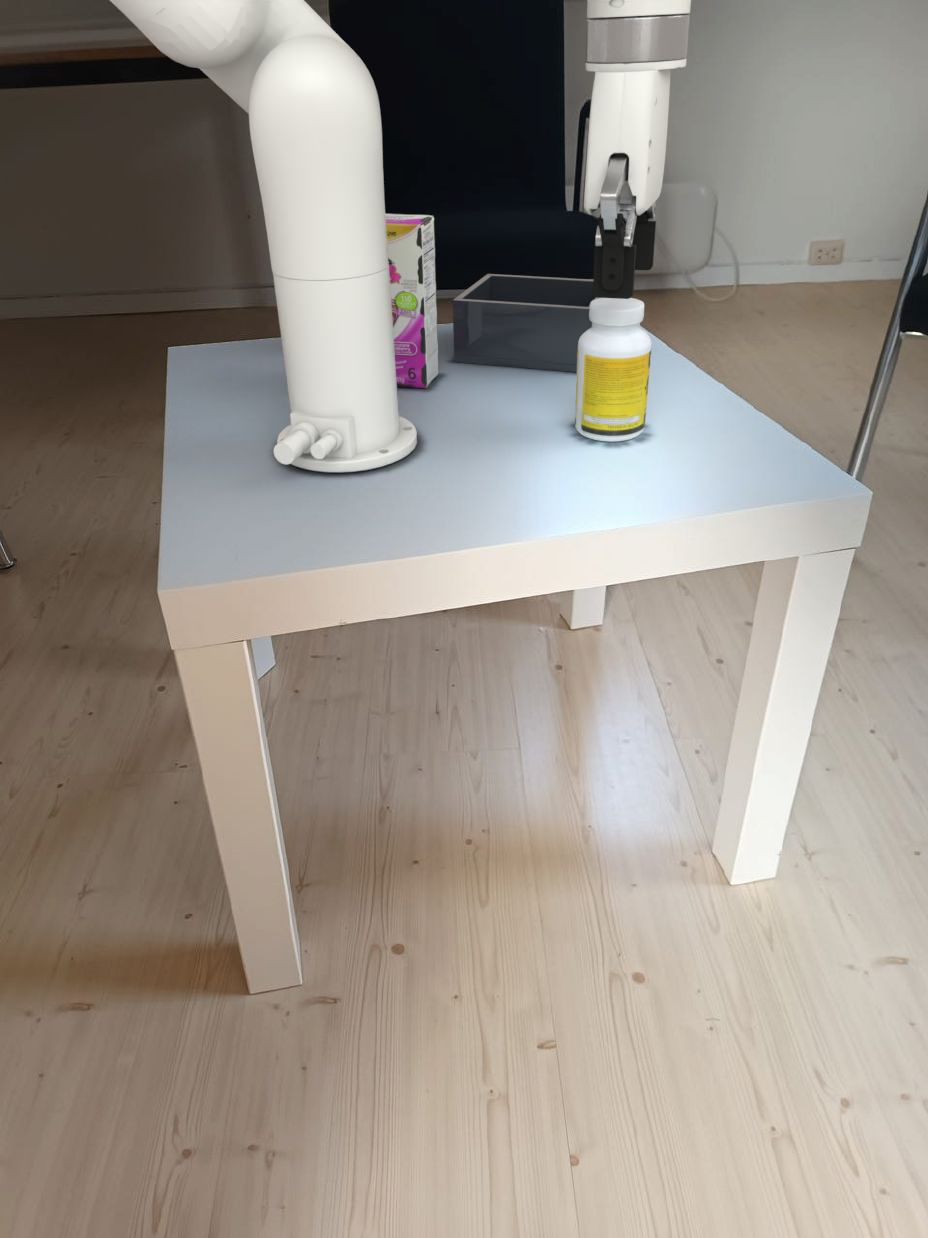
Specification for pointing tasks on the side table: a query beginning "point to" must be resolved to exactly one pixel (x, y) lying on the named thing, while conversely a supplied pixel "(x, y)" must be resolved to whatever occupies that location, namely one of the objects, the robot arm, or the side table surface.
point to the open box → (522, 321)
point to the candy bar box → (413, 298)
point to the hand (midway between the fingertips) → (624, 282)
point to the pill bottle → (613, 371)
